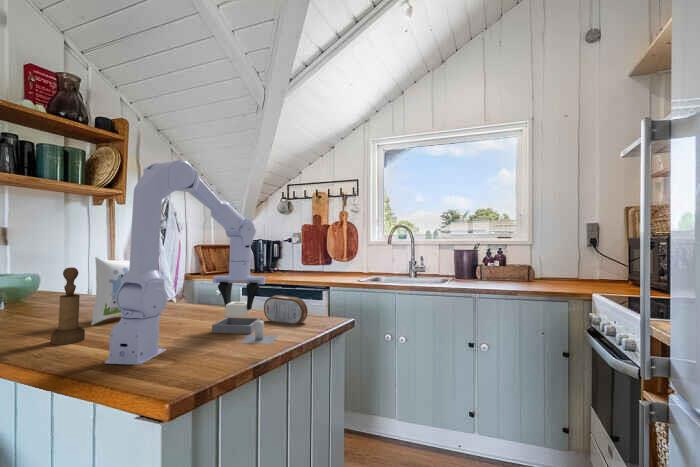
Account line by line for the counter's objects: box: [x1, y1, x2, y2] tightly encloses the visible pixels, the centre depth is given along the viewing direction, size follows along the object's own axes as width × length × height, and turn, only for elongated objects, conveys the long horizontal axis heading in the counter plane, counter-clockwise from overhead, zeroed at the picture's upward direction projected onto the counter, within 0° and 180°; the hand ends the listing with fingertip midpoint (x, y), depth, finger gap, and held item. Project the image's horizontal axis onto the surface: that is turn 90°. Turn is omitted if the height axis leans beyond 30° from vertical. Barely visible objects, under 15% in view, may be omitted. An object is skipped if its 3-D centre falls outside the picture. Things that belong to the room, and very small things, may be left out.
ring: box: [224, 301, 252, 317], centre depth 103 cm, size 6×6×3 cm
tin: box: [263, 294, 309, 325], centre depth 114 cm, size 15×3×8 cm, turn 66°
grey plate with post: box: [238, 319, 279, 345], centre depth 92 cm, size 8×8×5 cm
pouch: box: [90, 256, 130, 326], centre depth 114 cm, size 8×19×20 cm, turn 157°
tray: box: [211, 316, 263, 335], centre depth 103 cm, size 11×11×3 cm
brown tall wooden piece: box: [50, 267, 86, 346], centre depth 89 cm, size 7×6×18 cm
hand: (238, 309), depth 103 cm, fingers closed on ring, 5 cm apart
